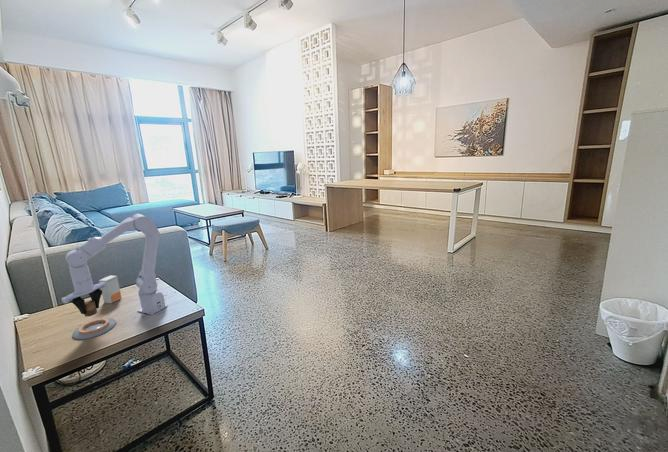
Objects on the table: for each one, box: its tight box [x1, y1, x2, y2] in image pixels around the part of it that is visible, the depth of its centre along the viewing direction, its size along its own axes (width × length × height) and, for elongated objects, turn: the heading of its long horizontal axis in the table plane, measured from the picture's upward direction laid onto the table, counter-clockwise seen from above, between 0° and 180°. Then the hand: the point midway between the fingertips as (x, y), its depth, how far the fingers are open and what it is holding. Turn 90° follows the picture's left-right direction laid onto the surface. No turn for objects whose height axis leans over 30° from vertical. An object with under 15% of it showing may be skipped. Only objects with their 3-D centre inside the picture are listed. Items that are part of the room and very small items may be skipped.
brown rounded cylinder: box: [83, 299, 98, 317], centre depth 116 cm, size 4×4×5 cm
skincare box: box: [98, 274, 122, 304], centre depth 140 cm, size 6×4×12 cm
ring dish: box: [71, 317, 117, 341], centre depth 118 cm, size 14×14×2 cm
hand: (90, 310), depth 116 cm, fingers closed on brown rounded cylinder, 4 cm apart
